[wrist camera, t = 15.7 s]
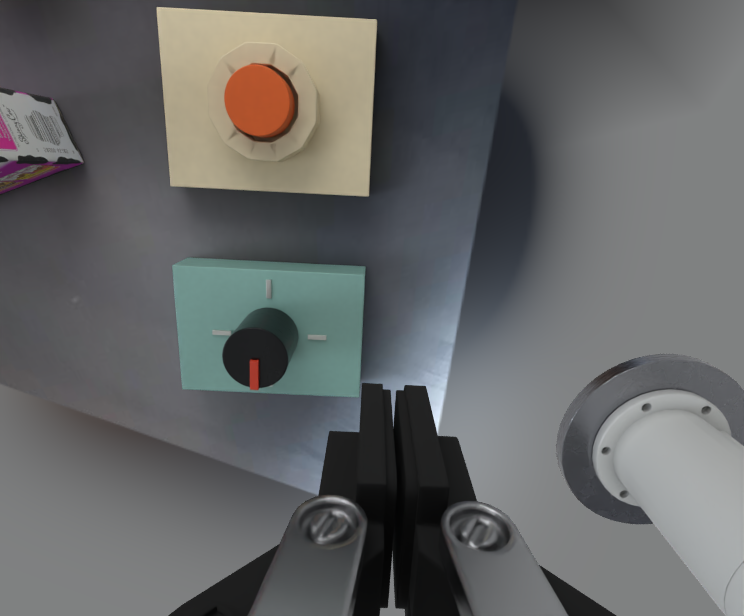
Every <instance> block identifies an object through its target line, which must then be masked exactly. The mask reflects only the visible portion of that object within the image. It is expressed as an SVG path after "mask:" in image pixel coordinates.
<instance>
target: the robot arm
mask: <svg viewBox="0 0 744 616" xmlns="http://www.w3.org/2000/svg"><path fill="white" fill-rule="evenodd" d="M592 460H593V466H594V470H595V472H596V474H597V477H598V478H599V480H600V481H601V483H602V484H603V486H604V487H605V488H606V489H607V490H608V491H609V492H610V493H611V494H612V495H613V496H614V497H616V498H617V499H619V500H620V501H623V502H625V503H628V504H630V505H634V506H639V507H641V508H642V509H643V511H644V512H645V513H646V514H647V516H648V517H649V518H650V520H651V521H652V522H653V523H654V525H655V526H656V527H657V529H658V530H659V531H660V532H661V534H662V535H663V536H664V538H665V539H666V540H667V541H668V543H669V544H670V545H671V546H672V548H673V549H674V550H675V552H676V553H677V554H678V555H679V557H680V558H681V559H682V561H683V562H684V563H685V565H686V566H687V567H688V568H689V570H690V571H691V572H692V573H693V575H694V576H695V577H696V579H697V580H698V581H699V582H700V584H701V585H702V586H703V588H704V589H705V590H706V592H707V593H708V594H709V595H710V597H711V598H712V599H713V601H714V602H715V603H716V604H717V606H718V607H719V608H720V610H721V611H722V612H723V613H724V615H725V616H744V446H743V445H742V444H740V443H739V442H738V441H736V440H735V439H734V438H733V437H731V430H730V427H729V424H728V421H727V420H726V418H725V417H724V415H723V413H722V412H721V411H720V410H719V409H718V408H717V407H716V406H715V405H713V404H712V403H711V402H709V401H708V400H706V399H705V398H703V397H701V396H699V395H697V394H695V393H692V392H688V391H683V390H673V389H666V390H658V391H653V392H649V393H646V394H642V395H640V396H638V397H636V398H633V399H631V400H629V401H628V402H626V403H625V404H623V405H622V406H620V407H619V408H618V409H616V410H615V411H614V412H613V413H612V414H611V415H610V416H609V417H608V418H607V420H606V421H605V422H604V424H603V425H602V426H601V428H600V430H599V432H598V434H597V436H596V438H595V442H594V445H593V454H592ZM392 550H393V570H394V592H395V607H396V608H402V609H405V616H616V615H615V614H613V613H612V612H610V611H608V610H607V609H606V608H604V607H602V606H601V605H599V604H598V603H596V602H595V601H593V600H592V599H590V598H589V597H587V596H585V595H584V594H583V593H581V592H580V591H578V590H577V589H575V588H573V587H572V586H570V585H569V584H567V583H566V582H564V581H563V580H561V579H560V578H558V577H557V576H555V575H554V574H552V573H551V572H549V571H548V570H546V569H545V568H543V567H541V566H540V565H538V563H537V561H536V560H535V558H534V556H533V555H532V553H531V551H530V549H529V548H528V546H527V544H526V543H525V541H524V539H523V538H522V536H521V534H520V532H519V531H518V529H517V527H516V526H515V524H514V523H513V522H512V520H511V519H510V518H509V517H508V516H507V515H506V514H505V513H503V512H502V511H501V510H499V509H497V508H495V507H493V506H491V505H489V504H485V503H482V502H478V501H477V500H476V496H475V493H474V490H473V487H472V483H471V480H470V477H469V473H468V470H467V467H466V464H465V460H464V457H463V454H462V451H461V447H460V444H459V441H458V439H457V437H448V436H437V432H436V427H435V423H434V419H433V415H432V410H431V406H430V402H429V397H428V393H427V389H426V386H412V385H405V386H404V391H403V390H397V391H396V401H395V415H394V428H393V419H392V405H391V391H390V390H383V385H382V384H370V383H362V394H361V413H360V431H359V432H340V431H330V432H329V436H328V442H327V448H326V454H325V460H324V466H323V472H322V478H321V484H320V490H319V496H317V497H314V498H311V499H309V500H307V501H305V502H304V503H302V504H301V505H300V506H299V507H298V508H297V509H296V510H295V512H294V513H293V515H292V517H291V520H290V522H289V524H288V526H287V528H286V531H285V533H284V536H283V537H282V540H281V542H280V544H279V545H277V546H276V547H274V548H273V549H271V550H270V551H268V552H266V553H265V554H263V555H261V556H260V557H258V558H256V559H255V560H253V561H252V562H250V563H249V564H247V565H245V566H244V567H242V568H241V569H239V570H237V571H236V572H234V573H232V574H231V575H229V576H228V577H226V578H224V579H223V580H221V581H220V582H218V583H216V584H215V585H213V586H212V587H210V588H208V589H207V590H205V591H204V592H202V593H201V594H199V595H197V596H196V597H194V598H193V599H191V600H189V601H188V602H186V603H184V604H183V605H181V606H180V607H179V608H177V609H176V610H175V611H174V612H172V613H171V614H170V615H169V616H379V615H380V608H387V607H388V598H389V585H390V573H391V561H392Z"/></svg>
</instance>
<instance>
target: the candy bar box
mask: <svg viewBox="0 0 744 616" xmlns="http://www.w3.org/2000/svg"><path fill="white" fill-rule="evenodd" d="M82 163H84V161H83V158H82V156H81V154H80V152H79V150H78V148H77V146H76V144H75V142H74V140H73V139H72V136H71V134H70V132H69V130H68V127H67V125H66V123H65V121H64V119H63V117H62V114H61V112H60V110H59V109H58V107H57V105H56V103H55V101H54V100H53V99H52V98H47V97H43V96H37V95H33V94H28V93H23V92H18V91H14V90H9V89H5V88H0V194H2V193H5V192H8V191H10V190H13V189H15V188H18V187H21V186H23V185H26V184H29V183H31V182H34V181H37V180H40V179H42V178H45V177H48V176H50V175H53V174H56V173H58V172H61V171H64V170H66V169H69V168H72V167H75V166H77V165H80V164H82Z"/></svg>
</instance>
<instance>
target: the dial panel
mask: <svg viewBox="0 0 744 616" xmlns="http://www.w3.org/2000/svg"><path fill="white" fill-rule="evenodd" d="M172 269H173V281H174V293H175V305H176V318H177V330H178V342H179V354H180V366H181V379H182V389H189V390H210V391H231V392H253V393H274V394H295V395H316V396H338V397H359V393H360V376H361V355H362V334H363V313H364V292H365V270H366V267H365V266H349V265H329V264H309V263H289V262H269V261H249V260H229V259H209V258H190V257H188V258H186V259H184V260H182V261H180V262H178V263H176V264H174V265H172ZM260 308H275V309H278V310H281V311H283V312H284V313H286V314H287V315H288V316H290V317H291V319H292V320H293V321H294V323H295V325H296V327H297V330H298V344H297V346H296V349H295V351H294V353H293V356H292V358H291V361H290V363H289V365H288V368H287V370H286V372H285V374H284V376H283V377H282V378H281V379H280V380H279V381H278V382H276V383H275V384H273V385H271V386H268V387H264V388H259V389H258V390H250V387H247V386H244V385H242V384H240V383H238V382H237V381H235V380H234V379H233V378H232V377H231V376H230V375H229V374H228V372H227V371H226V369H225V367H224V364H223V359H222V351H223V347H224V344H225V342H226V341H227V339H228V338H229V337H230V335H231V334H232V333H233V332H234V331H235V330H236V328H237V327H238V326H239V325H240V324H241V322H242V321H243V320H244V319H245V318H246V316H247V315H248V314H250V313H251V312H253V311H254V310H257V309H260Z"/></svg>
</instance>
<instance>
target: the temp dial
mask: <svg viewBox="0 0 744 616" xmlns="http://www.w3.org/2000/svg"><path fill="white" fill-rule="evenodd" d="M297 344H298V330H297V327H296V325H295V323H294V321H293V320H292V319H291V317H290V316H288V315H287V314H286V313H284V312H283V311H281V310H278V309H275V308H260V309H257V310H254V311H253V312H251V313H250V314H248V315H247V316H246V318H245V319H244V320H243V321H242V322H241V324H240V325H239V326H238V327H237V328H236V330H235V331H234V332H233V333H232V334H231V335H230V337H229V338H228V339H227V341H226V342H225V344H224V347H223V351H222V359H223V364H224V367H225V369H226V371H227V372H228V374H229V375H230V376H231V377H232V378H233V379H234V380H235V381H237V382H238V383H240V384H242V385H244V386H247V387H250V390H258V389H259V388H264V387H268V386H271V385H273V384H275V383H276V382H278V381H279V380H280V379H281V378H282V377H283V376H284V374H285V372H286V370H287V368H288V365H289V363H290V361H291V358H292V356H293V353H294V351H295V349H296V346H297Z"/></svg>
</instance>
